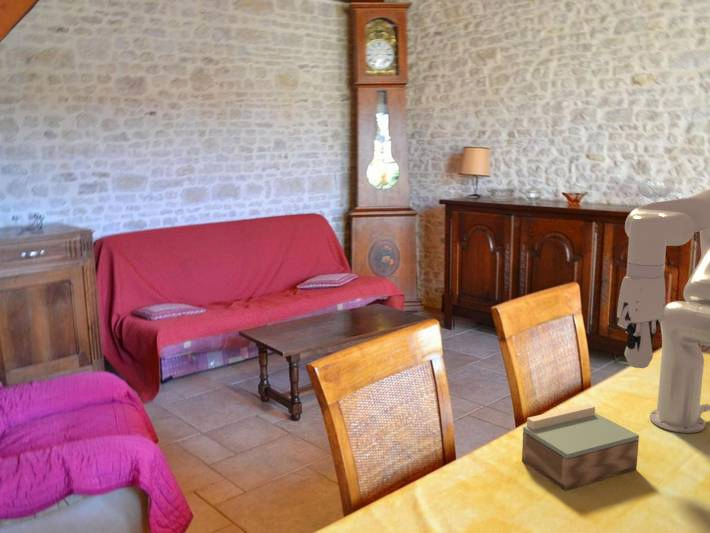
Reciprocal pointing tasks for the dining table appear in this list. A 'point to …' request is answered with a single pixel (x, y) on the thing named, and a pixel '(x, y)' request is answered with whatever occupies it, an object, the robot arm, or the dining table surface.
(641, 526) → the dining table surface
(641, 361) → the salt shaker
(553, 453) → the toolbox
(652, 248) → the robot arm
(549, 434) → the lid
